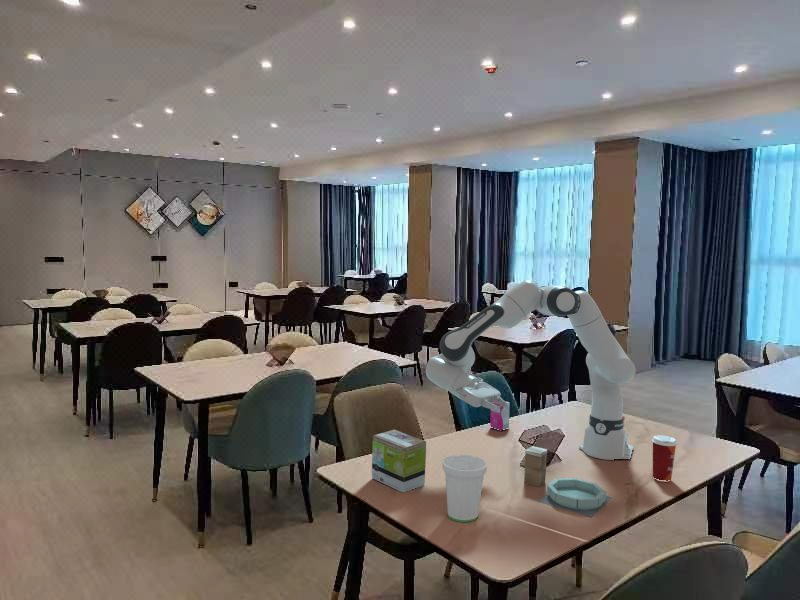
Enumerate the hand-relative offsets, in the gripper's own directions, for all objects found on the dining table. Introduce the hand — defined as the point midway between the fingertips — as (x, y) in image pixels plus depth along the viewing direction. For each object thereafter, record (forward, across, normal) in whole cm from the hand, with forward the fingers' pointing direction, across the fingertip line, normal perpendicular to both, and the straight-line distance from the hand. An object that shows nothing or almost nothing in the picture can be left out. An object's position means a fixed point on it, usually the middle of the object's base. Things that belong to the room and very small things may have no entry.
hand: (501, 407), depth 196 cm
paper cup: (+51, +31, +3) cm, 59 cm away
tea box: (-14, -22, +33) cm, 42 cm away
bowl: (+33, -3, +13) cm, 36 cm away
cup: (+12, -32, +24) cm, 42 cm away
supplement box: (-11, +51, +23) cm, 57 cm away
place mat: (+33, -3, +13) cm, 36 cm away
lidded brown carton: (+20, +2, +17) cm, 26 cm away
